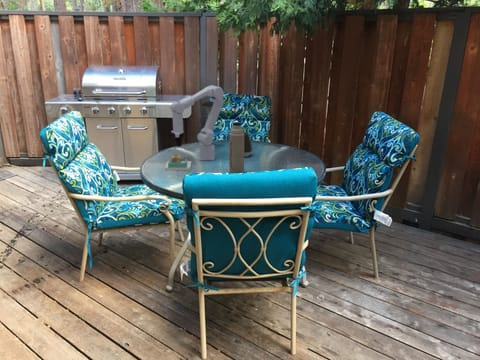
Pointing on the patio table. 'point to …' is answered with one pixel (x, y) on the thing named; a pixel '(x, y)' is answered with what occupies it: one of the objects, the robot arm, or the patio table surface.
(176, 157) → the cardboard box
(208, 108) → the solar garden light
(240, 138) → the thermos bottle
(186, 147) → the patio table surface
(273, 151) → the patio table surface
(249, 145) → the pump dispenser
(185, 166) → the dock
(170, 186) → the patio table surface
